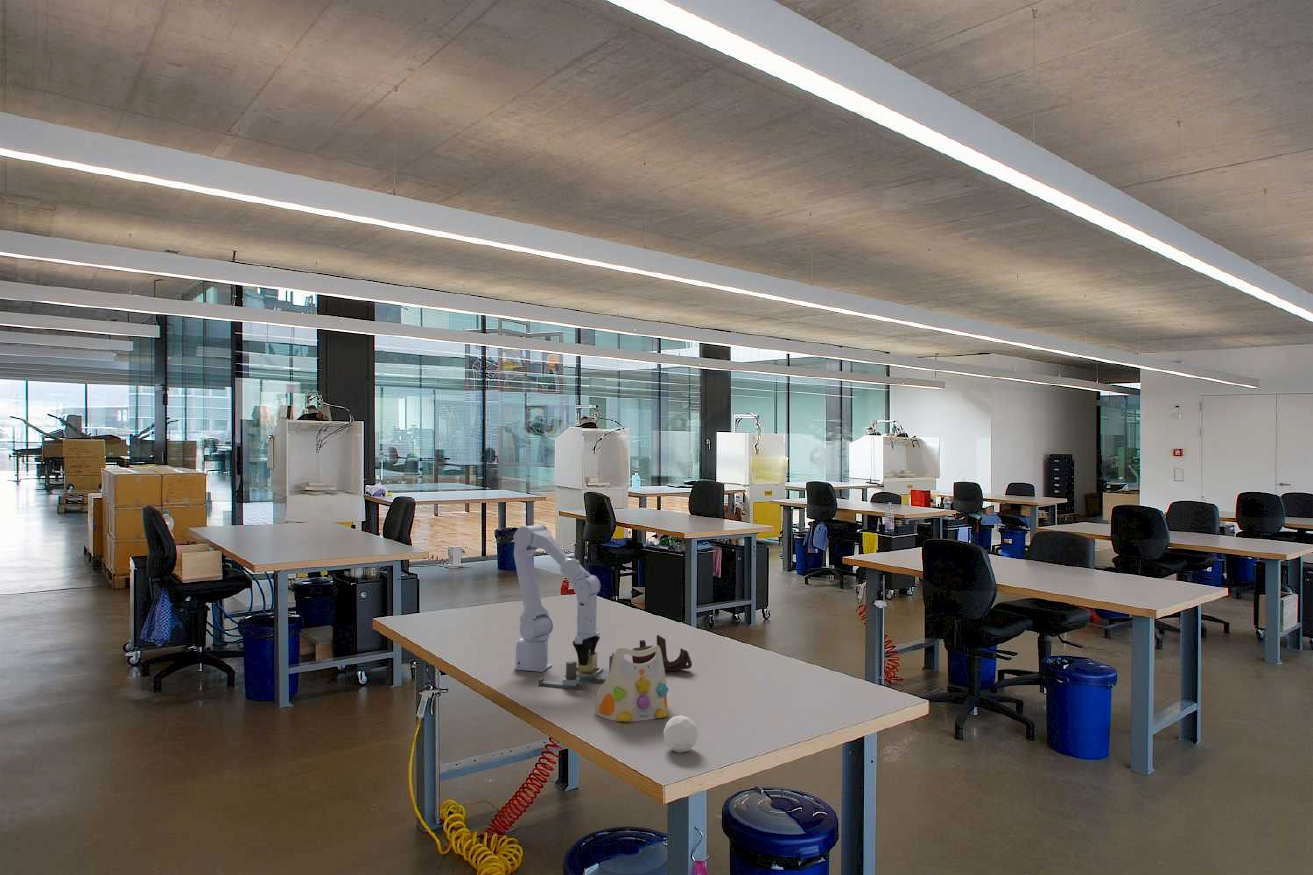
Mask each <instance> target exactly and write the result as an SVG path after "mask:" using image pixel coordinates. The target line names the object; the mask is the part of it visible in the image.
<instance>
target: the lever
mask: <svg viewBox="0 0 1313 875" xmlns="http://www.w3.org/2000/svg"><path fill="white" fill-rule="evenodd" d="M577 666H578V661H574V660H569V661H566V662H565V675H566V677H565V676H564V678H563V679H562V682H563V684H562V685H570V686H576V685H578V684H580V683H581V681H580V678H578V677H577Z"/></svg>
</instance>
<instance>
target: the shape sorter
mask: <svg viewBox="0 0 1313 875" xmlns="http://www.w3.org/2000/svg"><path fill="white" fill-rule="evenodd" d="M652 646H653V645H652ZM653 652H655V657H654V658H653V659H652V660H650V661H649V662H646V663H642V664H636V663H633V661H629V660H628V659H626V657H625V656H626V655H628V656H631V657H632V656H636V657H642V656H647V655H650V654H652V653H653ZM668 692H669V688H668V686H667V677H666V672H665V668H664V665H663V658H662V653H661V649H660V647H659V646H658V645H657V644H654V646H653V647H651V648H649V649H647V650H642V651H634V650H633V649H629V648H625V647H618V648H617V649H616V650H615V654H614V656H613V659H612V664H611V669H610V673H609V675H608V677H607V679H606V681H605V682H604V683H602V685H601V686H599V688H598V690H597V693H596V696H595V703H594V713H595V715H597V716H599V717H601V718H604V719H607V720H611V721H618V722H639V721H647V720H654V719H655V720H656V719H662V718H666V717H668V699H667V694H668Z"/></svg>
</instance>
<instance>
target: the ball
mask: <svg viewBox="0 0 1313 875" xmlns="http://www.w3.org/2000/svg"><path fill="white" fill-rule="evenodd" d="M697 728H698V727H697V725H696V724H695V722H694V721H693V720H692V718H691V717H688V716H685V715H682V714H681V715H676V716H672V717H671V718H670V719H669V720H668V721H667V722H666V723H665V726H664V729H663V732H662V733H663V738H664V743H665V744H666V746H667V747H668V748H669V750H672V751H674V752H676V753H678V754H680V753H685V752H688V751H690V750H692V748H693V747H694V746H695V745H696V743H697V740H698V737H699V733H698V729H697Z"/></svg>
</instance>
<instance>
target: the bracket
mask: <svg viewBox="0 0 1313 875" xmlns="http://www.w3.org/2000/svg"><path fill="white" fill-rule="evenodd" d="M654 645H655V644H654ZM654 645H647V644H646V640H645V639H642V640H639V647H633V648H632V650H634V651H642V650H647V649H649V648H651V647H653V646H654ZM656 645H658V646H659V647H660V649H661V653H662V658H663V665H664V670H666V671H668V672H673V671H680V670H689V669H691V668H692V665H693V663H692V660H691V657H690V654H689V652H688V650H685V649H684V648H680V649H679V650H680V652H679V655H678V657H677V658H676V659H675V660H673V661H669V659H668V656H667V643H666V638H664V637H663V636H661V635H660V634H657V635H656ZM654 657H655V652H653V653H652V654H650V655H647V656H642V657H636V656H631V659H632V663H636V664H642V663H646V662H649V661H650V660H652V659H653V658H654Z"/></svg>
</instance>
